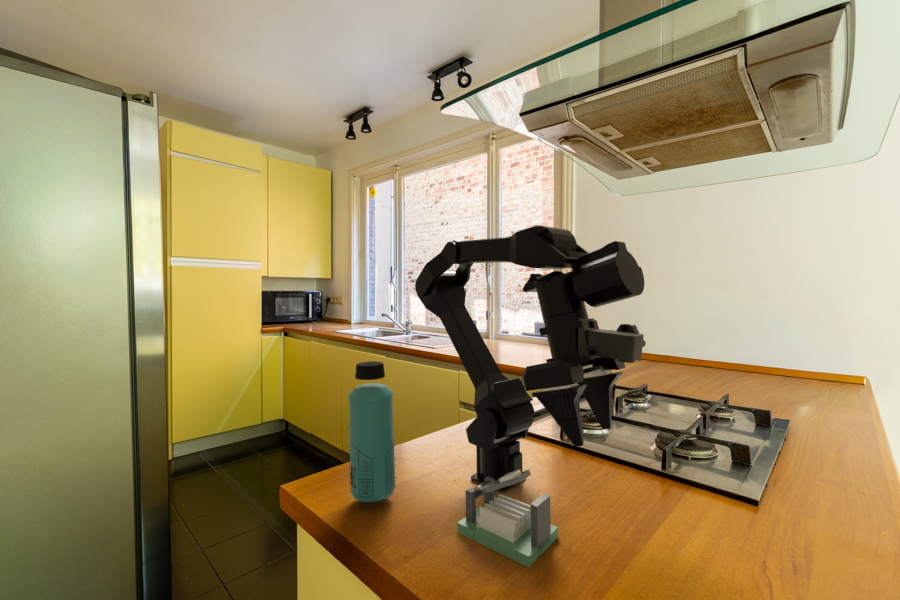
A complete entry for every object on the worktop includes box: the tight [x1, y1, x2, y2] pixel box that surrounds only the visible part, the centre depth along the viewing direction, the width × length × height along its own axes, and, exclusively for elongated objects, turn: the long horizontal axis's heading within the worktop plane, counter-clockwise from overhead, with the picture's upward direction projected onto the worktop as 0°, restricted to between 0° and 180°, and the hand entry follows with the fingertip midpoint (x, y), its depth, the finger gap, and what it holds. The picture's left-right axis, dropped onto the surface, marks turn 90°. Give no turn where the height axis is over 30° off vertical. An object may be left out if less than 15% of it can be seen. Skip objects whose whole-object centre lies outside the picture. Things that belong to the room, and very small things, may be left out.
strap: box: [473, 469, 532, 500], centre depth 49 cm, size 8×2×1 cm
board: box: [456, 477, 559, 568], centre depth 49 cm, size 10×7×6 cm
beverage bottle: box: [347, 361, 397, 503], centre depth 57 cm, size 6×7×20 cm
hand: (593, 436), depth 50 cm, fingers open, 9 cm apart
